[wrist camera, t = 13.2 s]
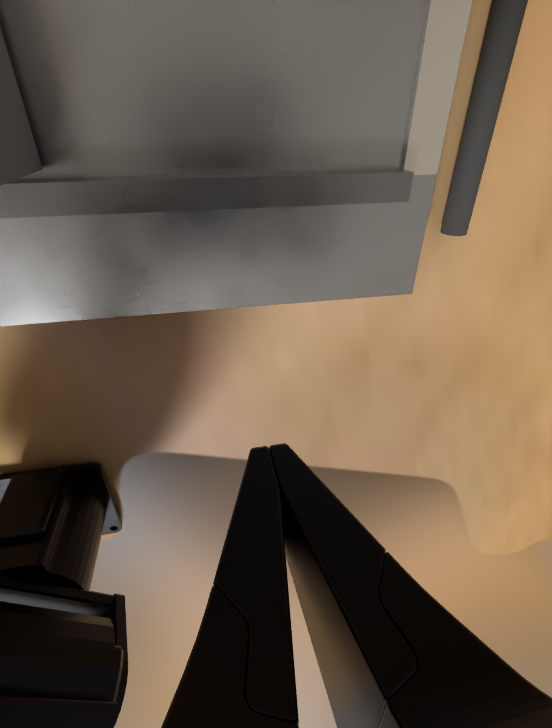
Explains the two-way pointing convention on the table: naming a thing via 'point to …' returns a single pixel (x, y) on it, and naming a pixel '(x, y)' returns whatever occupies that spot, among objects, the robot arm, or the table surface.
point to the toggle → (14, 127)
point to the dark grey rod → (483, 112)
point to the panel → (222, 152)
